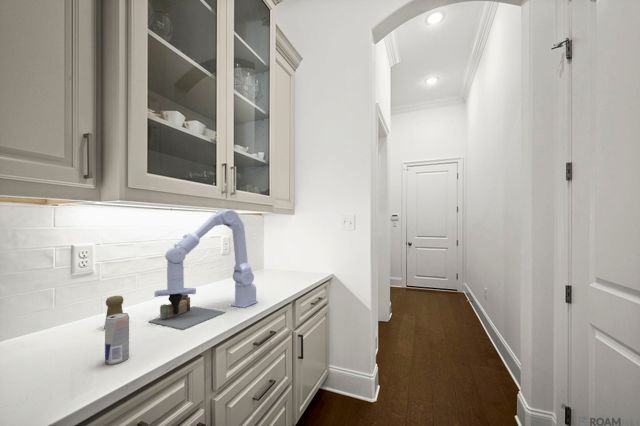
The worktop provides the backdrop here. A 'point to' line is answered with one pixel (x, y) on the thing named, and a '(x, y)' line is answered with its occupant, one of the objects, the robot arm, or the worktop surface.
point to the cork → (114, 305)
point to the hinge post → (184, 297)
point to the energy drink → (116, 338)
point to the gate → (168, 309)
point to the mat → (188, 318)
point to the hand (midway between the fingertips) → (175, 313)
